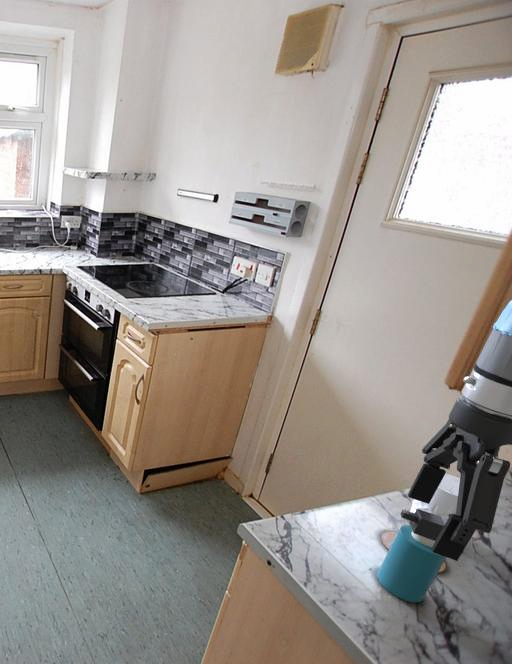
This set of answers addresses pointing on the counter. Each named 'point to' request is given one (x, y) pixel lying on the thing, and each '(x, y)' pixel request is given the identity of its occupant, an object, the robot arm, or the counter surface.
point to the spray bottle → (413, 557)
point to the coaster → (388, 540)
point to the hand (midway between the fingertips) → (429, 525)
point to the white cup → (441, 499)
